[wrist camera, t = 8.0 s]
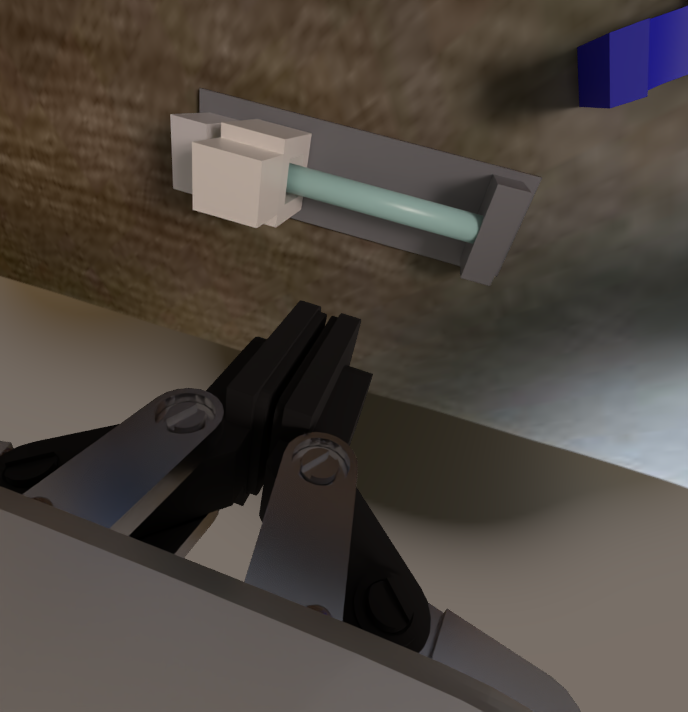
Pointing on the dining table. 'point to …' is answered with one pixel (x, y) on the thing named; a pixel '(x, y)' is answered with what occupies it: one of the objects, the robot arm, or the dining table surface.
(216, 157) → the sleeve
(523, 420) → the dining table surface
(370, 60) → the dining table surface
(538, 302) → the dining table surface
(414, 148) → the threaded rod slide
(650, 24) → the blue curved block
